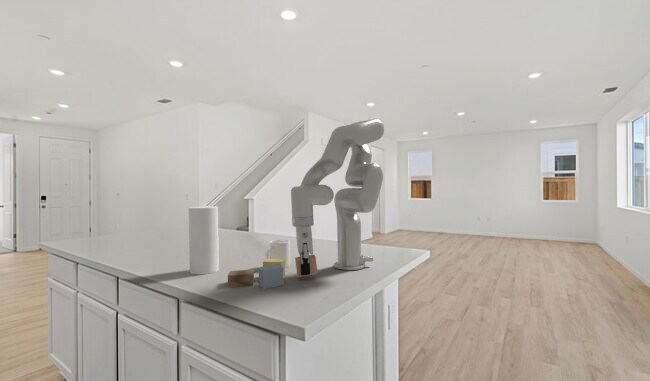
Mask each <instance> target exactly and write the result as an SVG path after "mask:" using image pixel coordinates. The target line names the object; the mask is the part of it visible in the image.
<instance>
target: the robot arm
mask: <svg viewBox="0 0 650 381" xmlns="http://www.w3.org/2000/svg"><path fill="white" fill-rule="evenodd" d="M384 133H385V127H384V124H383V122H382V121H381V120H380V119H377V118H372V119H371V118H370V119H368V120H367V119H366V120H360V121H357V122H353V123H351V124H347V125H346V124H345V125H341V126H339V127H338V126H337V127H336V128H334V129H333V131H332V132H331V135H330V136H329V139H328V141H327V144H326V146H325V148H324V151H323V153H322V155H321V157H320V158H319V159H318V160H317V161H316V162H315V163H314V164H313V165H312V166H311V167H310V168H309V170H308V171H307V172H306V173H305V175H304V176H303V179H302V181H301V183H300V185H299V186H293V187H292V188H291V190H290V199H291V202H290V203H291V204H290V205H291V221H292V222H291V223H292V224H291V226H292V227H294V228H295V236H296V246H297V247H296V248H297V252H298V254H299V257H301V275H309V276H311V275H310V263H309V255H314V245H313V230H312V226H314V225H315V224H314V206H326V205H329V204H330V203H332V201H333V199H334V202H333V203H334V207H335V208H334V209H335V212H336V220H337V222H336V226H337V227H336V231H337V232H336V234H337V237H336V238H337V244H336V246H337V261H335V262H334V263H333V267H334V268H335V269H338V270H342V271H343V270H344V271H357V270H362V269H364V268H365V267H366V262H370V263H371V262H374V257H373V256H366V255H365V256H364V255H363V254H362V222H361V218H360V216H359V213H361V214H369V213H371V212H372V211H373V210H375V208H376V205H377V202H378V199H379V196H380V192H381V189H382V186H383V181H384V180H383V179H384V173H383V169H382V167H381V166H380V165H379V164H378V163H375V162H372V157H373V156H372V155H373V153H372V151H371V149H370V147H369V146H368V144H371V143H374V142H377V141H380V139H381V138H382V137H383V135H384ZM350 148H351V156H350V160H349V163H348V165H347V168H346V172H345V177H344V181H345V183H346V185H348V186H349V187H347V188H346V187H344V188H341V189H339V190H338V191H337V192H336V193H334V190H333V189H332V187H331V186H329V185H327V184H320V183H321V182H322V181H323V179H325V178H326V177H328V176H329V175H331V174H333V173H335V172H337V171H338V170H340V169H341V168H342V167H343V164H344V162H345V160H346V157H347V154H348V152H349V149H350ZM334 195H335V196H334ZM303 256H304V257H303Z"/></svg>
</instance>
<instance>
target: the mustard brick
mask: <svg viewBox="0 0 650 381" xmlns="http://www.w3.org/2000/svg"><path fill="white" fill-rule="evenodd" d="M274 265H279V266H282V267H283V278H285V277H286V268H285V260H279V259H270V258H269V259H265V260H263V261H262V267H268V266H274Z"/></svg>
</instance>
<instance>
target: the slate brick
mask: <svg viewBox="0 0 650 381" xmlns="http://www.w3.org/2000/svg"><path fill="white" fill-rule="evenodd" d="M280 286H284V277H283V267H282V266H279V265H274V266H268V267H263V266H261V267H258V287H260V288H261V289H263V290H265V289H270V288H274V287H280Z"/></svg>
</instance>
